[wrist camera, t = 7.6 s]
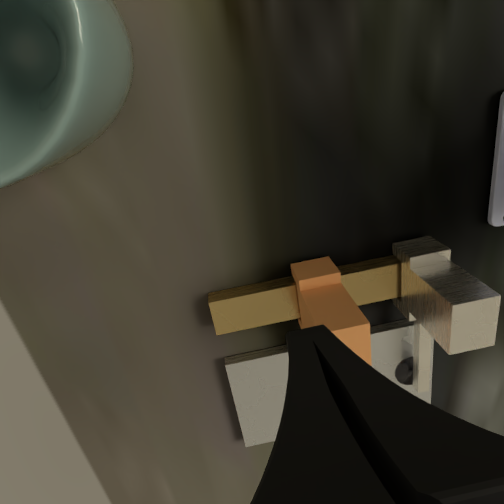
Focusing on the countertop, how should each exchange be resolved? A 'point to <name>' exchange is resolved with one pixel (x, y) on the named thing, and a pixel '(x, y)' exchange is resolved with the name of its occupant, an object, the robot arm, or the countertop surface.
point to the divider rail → (382, 288)
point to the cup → (58, 80)
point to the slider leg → (330, 305)
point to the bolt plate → (276, 375)
